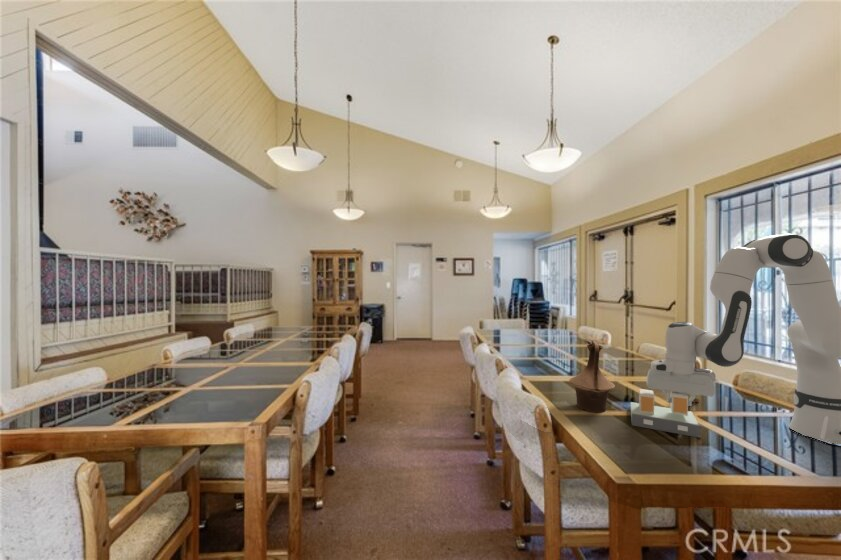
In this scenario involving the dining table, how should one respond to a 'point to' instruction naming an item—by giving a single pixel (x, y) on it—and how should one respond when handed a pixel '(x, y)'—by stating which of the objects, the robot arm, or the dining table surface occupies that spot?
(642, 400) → the faced carton
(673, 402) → the turned carton
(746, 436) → the dining table surface
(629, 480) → the dining table surface
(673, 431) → the shelf
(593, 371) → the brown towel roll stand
